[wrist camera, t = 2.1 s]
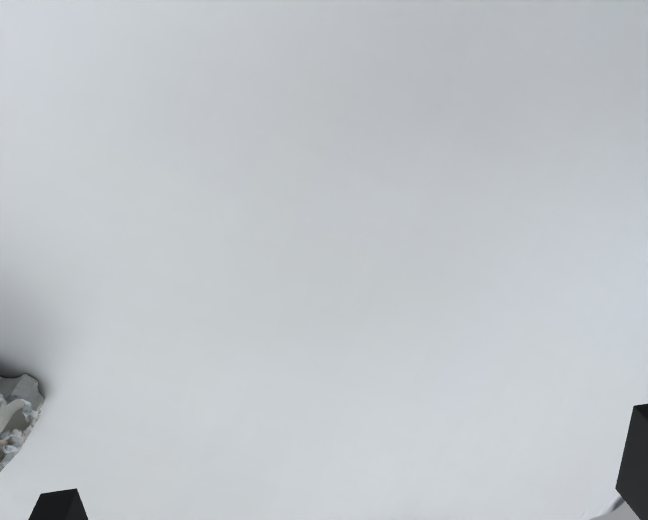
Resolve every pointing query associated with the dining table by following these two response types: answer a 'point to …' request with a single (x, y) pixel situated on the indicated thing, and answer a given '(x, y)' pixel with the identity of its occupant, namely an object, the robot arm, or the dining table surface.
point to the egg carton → (17, 414)
